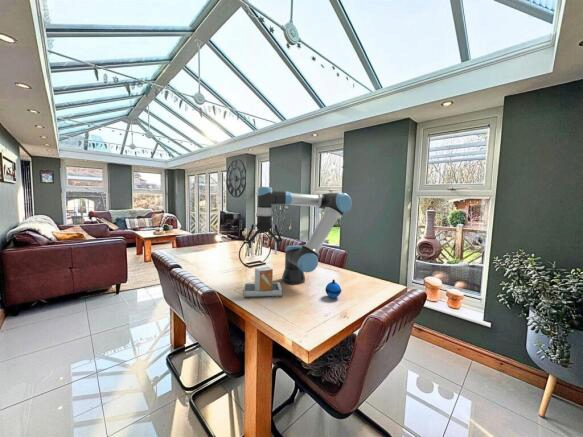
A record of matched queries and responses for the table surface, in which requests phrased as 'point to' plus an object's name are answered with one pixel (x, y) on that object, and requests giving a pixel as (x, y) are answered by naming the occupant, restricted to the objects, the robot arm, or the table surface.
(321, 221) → the robot arm
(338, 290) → the ornament
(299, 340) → the table surface
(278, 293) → the grey rectangular tray
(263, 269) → the small box
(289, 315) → the table surface
